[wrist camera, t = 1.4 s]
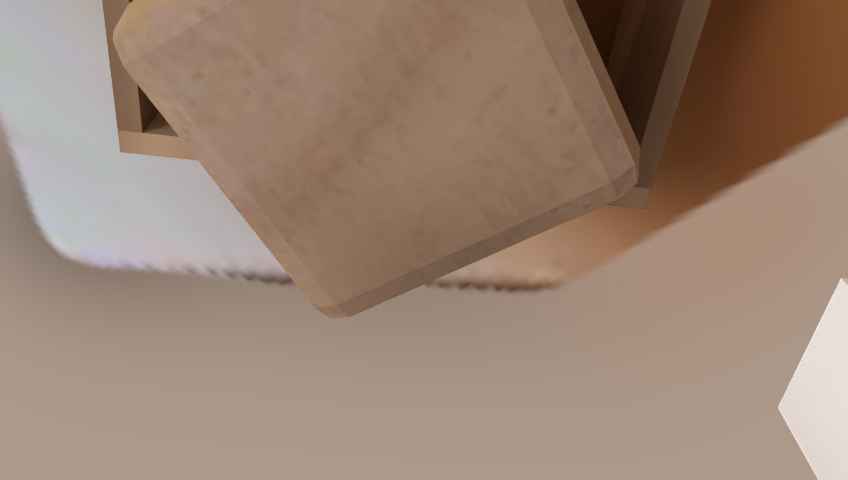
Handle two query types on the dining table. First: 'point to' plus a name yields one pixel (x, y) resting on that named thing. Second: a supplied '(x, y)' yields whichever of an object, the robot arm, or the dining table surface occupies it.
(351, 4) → the block
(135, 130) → the bracket
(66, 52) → the dining table surface
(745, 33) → the dining table surface
